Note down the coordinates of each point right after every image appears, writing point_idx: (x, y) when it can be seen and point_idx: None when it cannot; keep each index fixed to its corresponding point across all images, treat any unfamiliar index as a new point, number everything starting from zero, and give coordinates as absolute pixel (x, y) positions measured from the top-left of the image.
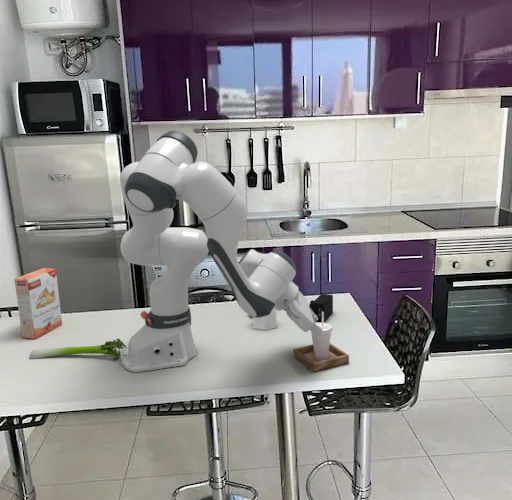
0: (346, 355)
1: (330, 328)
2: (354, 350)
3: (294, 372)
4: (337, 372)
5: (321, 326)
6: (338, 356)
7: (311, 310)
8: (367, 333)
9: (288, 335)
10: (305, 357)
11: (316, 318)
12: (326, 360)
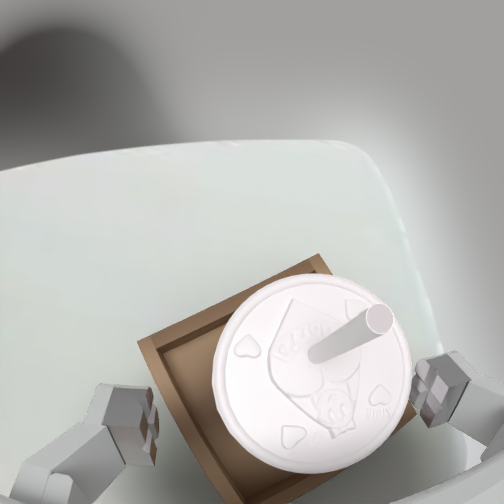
0: (320, 263)
1: (364, 289)
2: (179, 230)
3: (389, 488)
4: None
5: (335, 367)
6: None
7: (70, 455)
8: (49, 172)
9: (8, 479)
10: None
11: (150, 405)
12: None
